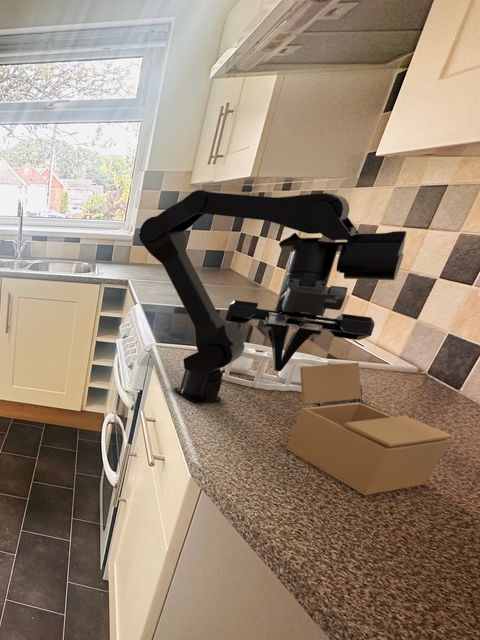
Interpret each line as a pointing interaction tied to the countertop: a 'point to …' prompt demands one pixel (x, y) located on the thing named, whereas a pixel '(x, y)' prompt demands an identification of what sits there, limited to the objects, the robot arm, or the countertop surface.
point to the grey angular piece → (344, 400)
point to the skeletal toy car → (244, 362)
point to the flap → (330, 383)
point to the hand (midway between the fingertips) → (277, 370)
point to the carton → (367, 446)
